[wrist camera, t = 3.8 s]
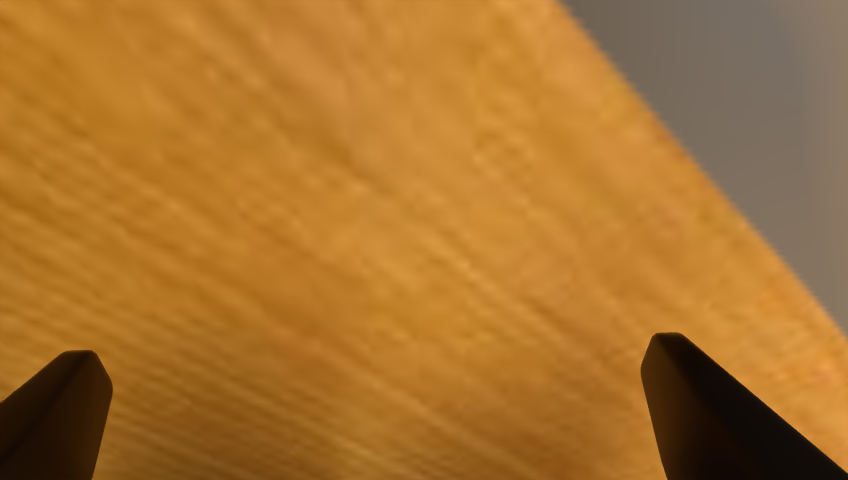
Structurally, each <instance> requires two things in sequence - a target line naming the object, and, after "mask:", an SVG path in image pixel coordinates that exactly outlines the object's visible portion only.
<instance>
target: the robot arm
mask: <svg viewBox="0 0 848 480" xmlns="http://www.w3.org/2000/svg"><path fill="white" fill-rule="evenodd" d="M641 378H642V383H643V387H644V391H645V395H646V399H647V404H648V408H649V412H650V416H651V420H652V424H653V429H654V433H655V437H656V441H657V445H658V449H659V453H660V457H661V461H662V464H663V467H664V471H665V474H666V477H667V480H848V473H847V472H845V471H844V470H843V469H842V468H841V467H839V466H838V465H837V464H836V463H835V462H834V461H832V460H831V459H830V458H829V457H828V456H826V455H825V454H824V453H823V452H822V451H820V450H819V449H818V448H817V447H816V446H815V445H813V444H812V443H811V442H810V441H809V440H807V439H806V438H805V437H804V436H803V435H801V434H800V433H799V432H798V431H797V430H796V429H794V428H793V427H792V426H791V425H790V424H788V423H787V422H786V421H785V420H784V419H783V418H781V417H780V416H779V415H778V414H777V413H775V412H774V411H773V410H772V409H771V408H769V407H768V406H767V405H766V404H765V403H764V402H762V401H761V400H760V399H759V398H758V397H756V396H755V395H754V394H753V393H752V392H751V391H749V390H748V389H747V388H746V387H745V386H743V385H742V384H741V383H740V382H739V381H737V380H736V379H735V378H734V377H733V376H732V375H730V374H729V373H728V372H727V371H726V370H724V369H723V368H722V367H721V366H720V365H718V364H717V363H716V362H715V361H714V360H713V359H711V358H710V357H709V356H708V355H707V354H705V353H704V352H703V351H702V350H701V349H700V348H698V347H697V346H696V345H695V344H694V343H692V342H691V341H690V340H689V339H688V338H686V337H685V336H684V335H682V334H680V333H677V332H669V333H656V334H655V335H653V336H652V338H651V340H650V343H649V346H648V348H647V351H646V353H645V356H644V359H643V361H642V365H641ZM112 393H113V386H112V382H111V379H110V377H109V376H108V374H107V372H106V370H105V368H104V366H103V365H102V363H101V361H100V359H99V357H98V355H97V354H96V353H95V352H93V351H92V350H72V351H66V352H64V353H62V354H60V355H59V356H58V357H56V358H55V359H54V360H53V361H51V362H50V363H49V364H48V365H47V366H45V367H44V368H43V369H42V370H40V371H39V372H38V373H37V374H36V375H34V376H33V377H32V378H31V379H29V380H28V381H27V382H26V383H24V384H23V385H22V386H21V387H20V388H18V389H17V390H16V391H15V392H13V393H12V394H11V395H10V396H9V397H7V398H6V399H5V400H4V401H2V402H1V403H0V480H92V477H93V473H94V469H95V465H96V461H97V457H98V453H99V449H100V444H101V440H102V436H103V432H104V428H105V424H106V420H107V415H108V411H109V407H110V403H111V399H112Z"/></svg>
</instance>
